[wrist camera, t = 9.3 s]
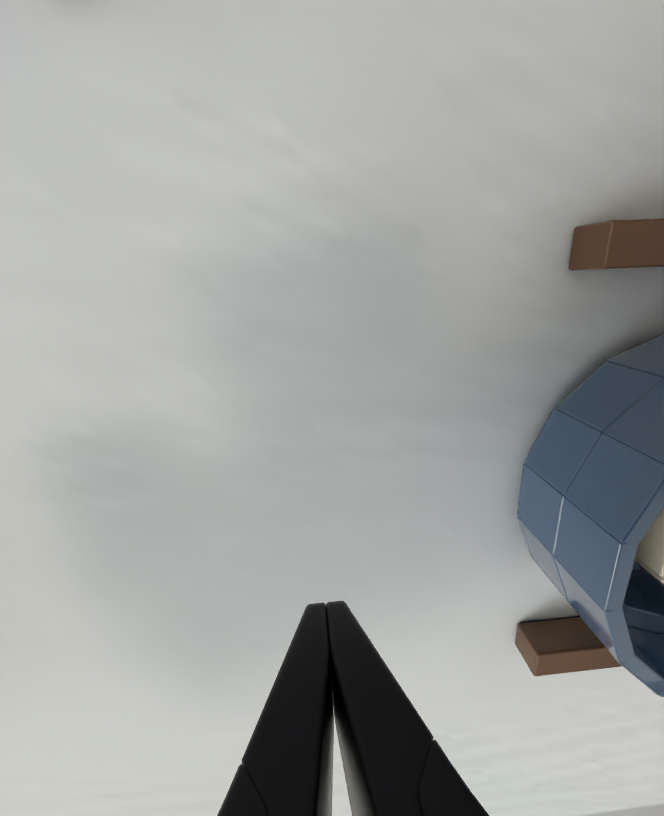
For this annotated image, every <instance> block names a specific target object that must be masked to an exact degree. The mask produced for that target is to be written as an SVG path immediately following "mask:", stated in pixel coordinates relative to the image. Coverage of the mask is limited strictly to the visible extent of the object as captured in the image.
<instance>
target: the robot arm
mask: <svg viewBox="0 0 664 816" xmlns="http://www.w3.org/2000/svg"><path fill="white" fill-rule="evenodd" d="M332 694H333V696H332ZM333 706H334V714H333ZM334 716H335V723H336V729H337V735H338V740H339V746H340V751H341V757H342V762H343V768H344V773H345V778H346V784H347V789H348V795H349V800H350V806H351V811H352V816H489V815H488V813H487V812H486V811H485V810H484V808H483V807H482V806H481V804H480V803H479V802H478V800H477V799H476V798H475V797H474V795H473V794H472V793H471V791H470V790H469V788H468V787H467V786H466V784H465V783H464V781H463V780H462V778H461V777H460V775H459V774H458V773H457V771H456V770H455V768H454V767H453V765H452V764H451V762H450V761H449V760H448V758H447V756H446V755H445V753H444V752H443V750H442V749H441V747H440V746H439V744H438V743H437V741H436V740H433V736H432V734H431V732H430V731H429V729H428V728H427V726H426V725H425V723H424V722H423V720H422V719H421V717H420V716H419V714H418V713H417V711H416V710H415V708H414V707H413V705H412V704H411V702H410V700H409V699H408V697H407V696H406V694H405V693H404V691H403V690H402V688H401V687H400V685H399V684H398V682H397V681H396V679H395V678H394V676H393V675H392V673H391V672H390V670H389V668H388V667H387V665H386V664H385V662H384V661H383V659H382V658H381V656H380V655H379V653H378V652H377V650H376V649H375V647H374V646H373V644H372V643H371V641H370V640H369V638H368V636H367V635H366V633H365V632H364V630H363V629H362V627H361V626H360V624H359V623H358V621H357V620H356V618H355V617H354V615H353V614H352V612H351V611H350V609H349V608H348V606H347V604H346V603H345V602H344V601H335V602H328V603H327V604H326V605H325V604H324V603H315V604H309V605H307V607H306V609H305V611H304V613H303V616H302V618H301V621H300V623H299V625H298V628H297V630H296V632H295V635H294V637H293V640H292V642H291V644H290V647H289V649H288V651H287V654H286V656H285V659H284V661H283V663H282V666H281V668H280V670H279V673H278V675H277V678H276V680H275V682H274V685H273V687H272V689H271V692H270V694H269V697H268V699H267V701H266V704H265V706H264V708H263V711H262V713H261V716H260V718H259V720H258V723H257V725H256V727H255V730H254V732H253V735H252V737H251V739H250V742H249V744H248V746H247V749H246V751H245V754H244V756H243V758H242V764H241V765H239V767H238V770H237V772H236V774H235V777H234V779H233V782H232V784H231V786H230V789H229V791H228V793H227V795H226V798H225V800H224V802H223V804H222V806H221V809H220V811H219V813H218V815H217V816H332V780H333V740H334Z"/></svg>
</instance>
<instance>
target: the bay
mask: <svg viewBox="0 0 664 816" xmlns="http://www.w3.org/2000/svg"><path fill="white" fill-rule="evenodd" d="M659 266H664V218H658V219H632V220H611V221H606V222H600V223H595V224H589V225H584V226H578V227H575V229H574V234H573V241H572V248H571V255H570V262H569V269H570V270H588V269H616V268H638V267H659ZM515 644H516V646H517V648H518V650H519V651H520V653H521V655H522V656H523V658H524V660H525V661H526V663H527V665H528V667H529V668H530V670H531V672H532V673H533V675H534V676H542V675H551V674H559V673H568V672H577V671H586V670H594V669H603V668H612V667H621V666H622V665H620V664H619V663H618V661H617V660H616V659H615V658H614V657H613V655H612V654H611V653H610V652H609V651H608V649H607V648H606V647H605V646H604V644H603V643H602V642H601V641H600V640H599V638H598V637H597V636H596V635H595V634H594V632H593V631H592V630H591V629H590V628H589V626H588V625H587V624H586V623H585V622H584V620H583V619H582V618H581V617H575V618H565V619H556V620H546V621H537V622H527V623H519V624H518V627H517V634H516V641H515Z"/></svg>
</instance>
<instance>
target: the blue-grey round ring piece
mask: <svg viewBox="0 0 664 816" xmlns="http://www.w3.org/2000/svg"><path fill="white" fill-rule="evenodd" d="M663 509H664V334H662V335H660V336H658V337H656V338H654V339H651V340H649V341H647V342H645V343H643V344H640V345H638V346H636V347H634V348H632V349H629V350H627V351H625V352H623V353H621V354H618V355H616V356H614V357H612V358H610V359H608V360H607V361H606V362H604V363H603V364H602V365H601V366H600V367H598V368H597V369H596V370H595V371H594V372H593V373H592V374H591V375H590V376H589V377H588V378H586V379H585V380H584V381H583V382H582V383H581V384H580V385H579V386H578V387H577V388H576V389H575V390H573V391H572V392H571V393H570V394H569V395H568V396H567V397H566V398H565V399H564V400H563V401H561V402H560V403H559V404H558V405H557V406H556V409H553V411H552V413H551V415H550V416H549V418H548V420H547V422H546V424H545V425H544V427H543V429H542V431H541V433H540V434H539V436H538V438H537V440H536V442H535V443H534V445H533V447H532V449H531V451H530V453H529V454H528V456H527V458H526V460H525V463H524V464H523V472H522V479H521V487H520V495H519V503H518V511H517V515H518V520H519V523H520V526H521V529H522V531H523V534H524V537H525V540H526V543H527V546H528V548H529V551H530V554H531V557H532V558H533V560H534V561H535V563H536V564H537V565H538V566H539V567H540V569H541V570H542V571H543V572H544V573H545V575H546V576H547V577H548V578H549V579H550V581H551V582H552V583H553V584H554V585H555V587H556V588H557V589H558V590H559V591H560V593H561V594H562V595H563V596H564V597H565V599H566V600H567V601H568V602H569V603H570V604H571V606H572V607H573V608H574V610H575V611H576V612H577V613H578V614H579V616H580V617H581V618H582V619H583V620H584V622H585V623H586V624H587V625H588V626H589V628H590V629H591V630H592V631H593V632H594V634H595V635H596V636H597V637H598V638H599V640H600V641H601V642H602V643H603V644H604V646H605V647H606V648H607V649H608V651H609V652H610V653H611V654H612V655H613V657H614V658H615V659H616V660H617V661H618V663H619V664H620V665H622V666H623V667H624V668H625V669H626V670H628V671H629V672H630V673H631V674H633V675H634V676H635V677H636V678H637V679H639V680H640V681H641V682H642V683H643V684H645V685H646V686H647V687H648V688H649V689H651V690H652V691H653V692H654V693H655V694H657V695H659V696H661V697H664V588H663V587H662V586H660V585H659V584H658V583H657V582H656V581H654V580H653V579H652V578H651V577H650V576H649V575H647V574H646V573H645V572H644V571H643V570H642V569H640V568H639V567H638V566H637V565H636V564H635V563H634V561H635V557H636V553H637V549H638V545H639V543H640V542H641V540H642V539H643V537H644V536H645V535H646V533H647V532H648V530H649V529H650V527H651V526H652V524H653V523H654V522H655V520H656V519H657V517H658V516H659V514H660V513H661V511H662V510H663Z"/></svg>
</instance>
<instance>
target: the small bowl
mask: <svg viewBox="0 0 664 816" xmlns="http://www.w3.org/2000/svg"><path fill="white" fill-rule="evenodd" d="M634 563H635V564H636V565H637V566H638V567H639V568H640V569H642V570H643V571H644V572H645V573H646V574H647V575H649V576H650V577H651V578H652V579H653V580H654V581H656V582H657V583H658V584H659V585H660V586H662V587H663V588H664V509H663V510H662V511H661V513H660V514H659V516H658V517H657V519H656V520H655V522H654V523H653V524H652V526H651V527H650V529H649V530H648V532H647V533H646V535H645V536H644V537H643V539H642V540H641V542H640V543H639V545H638V549H637V553H636V557H635V561H634Z"/></svg>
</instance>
